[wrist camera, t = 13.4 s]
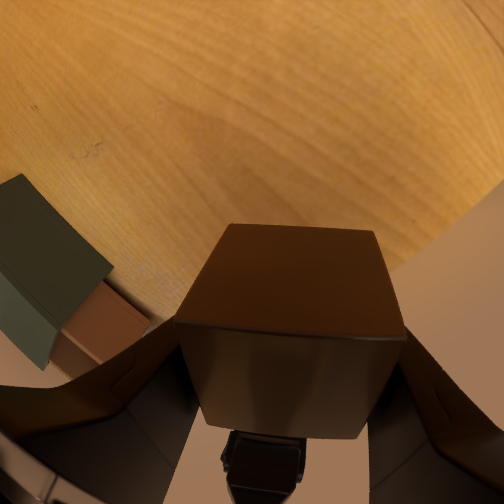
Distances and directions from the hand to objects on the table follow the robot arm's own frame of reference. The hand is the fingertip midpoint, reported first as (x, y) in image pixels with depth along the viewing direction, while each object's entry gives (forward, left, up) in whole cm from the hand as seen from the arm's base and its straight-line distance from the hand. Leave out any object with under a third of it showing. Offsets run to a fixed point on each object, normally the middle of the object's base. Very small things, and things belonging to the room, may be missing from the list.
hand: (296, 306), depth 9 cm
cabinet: (+14, +24, -12) cm, 30 cm away
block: (0, 0, -1) cm, 1 cm away
